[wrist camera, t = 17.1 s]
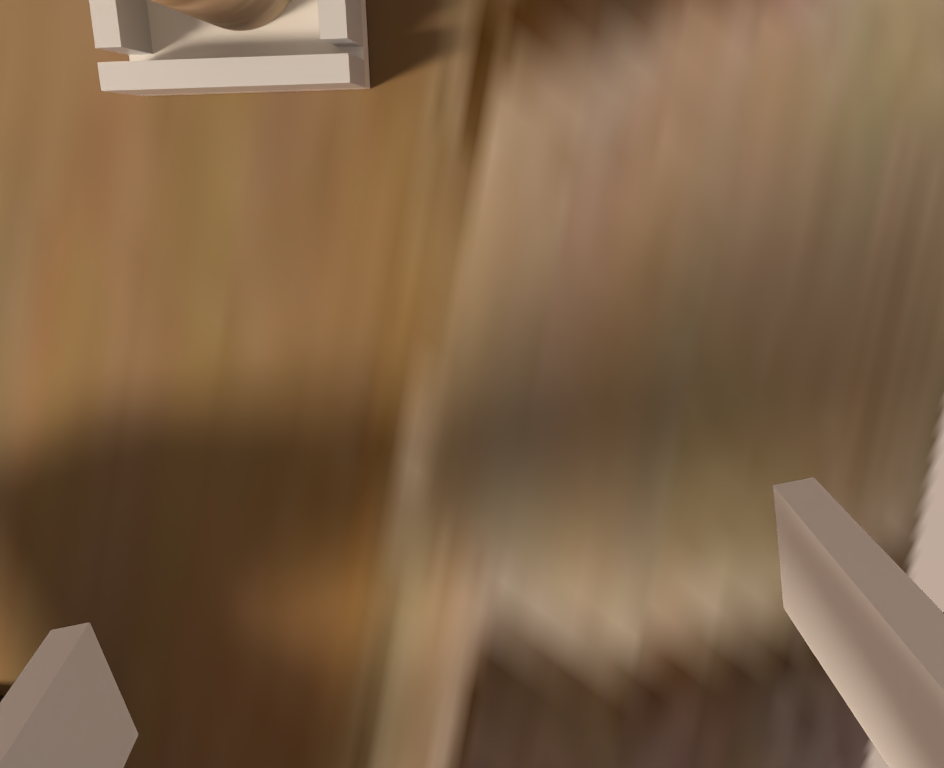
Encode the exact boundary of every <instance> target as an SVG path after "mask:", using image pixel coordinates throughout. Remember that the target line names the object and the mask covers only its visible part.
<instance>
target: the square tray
mask: <svg viewBox="0 0 944 768" xmlns="http://www.w3.org/2000/svg"><path fill="white" fill-rule="evenodd" d="M89 3H90V11H91V18H92V25H93V33H94V40H95V48H98V49H103V50H108V51H112V52H117V53H122V54H126V55H129V59H130V61H122V62H98V70H99V77H100V85H101V91H106V92H115V93H123V94H131V95H139V96H162V95H193V94H224V93H255V92H286V91H318V90H349V89H370V76H369V57H368V38H367V19H366V0H291V1H290V2H289V4H288V5H287V7H286V8H285V9H284V11H283V12H282V13H281V14H280V15H279V16H278V17H276V18H275V19H274V20H273V21H271V22H270V23H268V24H266V25H264V26H262V27H259V28H257V29H253V30H247V31H233V30H227V29H224V28H221V27H218V26H215V25H213V24H210V23H207V22H205V21H202V20H200V19H197V18H194V17H192V16H189V15H187V14H184V13H181V12H179V11H176V10H174V9H171V8H168V7H166V6H163V5H161V4H158V3H155V2H153V1H150V0H89Z"/></svg>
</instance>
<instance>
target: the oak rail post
mask: <svg viewBox="0 0 944 768" xmlns="http://www.w3.org/2000/svg"><path fill="white" fill-rule="evenodd" d="M150 1H153V2H155V3H158V4H161V5H163V6H166V7H168V8H171V9H174V10H176V11H179V12H181V13H184V14H187V15H189V16H192V17H194V18H197V19H200V20H202V21H205V22H207V23H210V24H213V25H215V26H218V27H221V28H224V29H227V30H233V31H247V30H253V29H257V28H259V27H262V26H264V25H266V24H268V23H270V22H271V21H273V20H274V19H275V18H276V17H278V16H279V15H280V14H281V13H282V12H283V11H284V9H285V8H286V7H287V5H288V4H289V2H290V1H291V0H150Z"/></svg>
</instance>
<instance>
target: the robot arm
mask: <svg viewBox="0 0 944 768" xmlns="http://www.w3.org/2000/svg"><path fill="white" fill-rule="evenodd" d="M773 493H774V504H775V515H776V527H777V538H778V549H779V561H780V572H781V583H782V595H783V606H784V609H785V611H786V612H787V614H788V615H789V617H790V619H791V620H792V622H793V623H794V625H795V626H796V628H797V629H798V631H799V632H800V634H801V635H802V637H803V638H804V640H805V641H806V643H807V644H808V646H809V647H810V649H811V650H812V652H813V653H814V655H815V656H816V658H817V659H818V661H819V663H820V664H821V666H822V667H823V669H824V670H825V672H826V673H827V675H828V676H829V678H830V679H831V681H832V682H833V684H834V685H835V687H836V688H837V690H838V691H839V693H840V694H841V696H842V697H843V699H844V700H845V702H846V703H847V705H848V707H849V708H850V710H851V711H852V713H853V714H854V716H855V717H856V719H857V720H858V722H859V723H860V725H861V726H862V728H863V729H864V731H865V732H866V734H867V735H868V737H869V738H870V740H871V741H872V743H873V744H874V746H875V747H876V749H877V750H878V752H879V754H880V755H881V756H882V758H883V760H884V761H885V763H886V764H887V766H888V767H889V768H944V612H942V611H941V610H940V609H939V608H938V607H937V606H936V605H935V604H934V603H933V602H932V601H931V600H930V599H929V597H927V596H926V594H925V593H924V592H923V591H922V590H921V589H920V588H919V587H918V586H917V585H916V584H915V583H914V582H913V581H912V580H911V579H910V578H909V576H908V575H907V574H906V573H905V572H904V571H903V570H902V569H901V568H900V567H899V566H898V565H897V564H896V563H895V562H894V561H893V560H892V559H891V558H890V557H889V555H888V554H887V553H886V552H885V551H884V550H883V549H882V548H881V547H880V546H879V545H878V544H877V543H876V542H875V541H874V540H873V539H872V538H871V537H870V536H869V534H868V533H867V532H866V531H865V530H864V529H863V528H862V527H861V526H860V525H859V524H858V523H857V522H856V521H855V520H854V519H853V518H852V517H851V516H850V515H849V513H848V512H847V511H846V510H845V509H844V508H843V507H842V506H841V505H840V504H839V503H838V502H837V501H836V500H835V499H834V498H833V497H832V496H831V495H830V494H829V492H828V491H827V490H826V489H825V488H824V487H823V486H822V485H821V484H820V483H819V482H818V481H817V480H816V479H815V478H814V477H812V478H807V479H802V480H797V481H792V482H787V483H782V484H777V485H773ZM138 735H139V734H138V732H137V730H136V727H135V725H134V723H133V721H132V718H131V716H130V714H129V711H128V709H127V707H126V704H125V702H124V700H123V698H122V695H121V693H120V691H119V688H118V686H117V684H116V681H115V679H114V677H113V675H112V672H111V670H110V668H109V665H108V663H107V661H106V658H105V656H104V654H103V652H102V649H101V647H100V645H99V642H98V640H97V638H96V635H95V633H94V631H93V629H92V626H91V624H90V622H88V623H83V624H78V625H73V626H68V627H63V628H58V629H53V630H51V631H50V632H49V633H48V635H47V636H46V638H45V639H44V641H43V642H42V644H41V645H40V646H39V648H38V649H37V651H36V652H35V654H34V655H33V656H32V658H31V659H30V661H29V662H28V664H27V665H26V666H25V668H24V669H23V671H22V672H21V674H20V675H19V676H18V678H17V679H16V681H15V682H14V684H13V685H12V686H11V688H10V689H9V691H8V692H7V694H6V695H5V696H4V698H1V697H0V768H124V765H125V763H126V761H127V759H128V757H129V754H130V752H131V750H132V748H133V746H134V743H135V741H136V739H137V737H138Z"/></svg>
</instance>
